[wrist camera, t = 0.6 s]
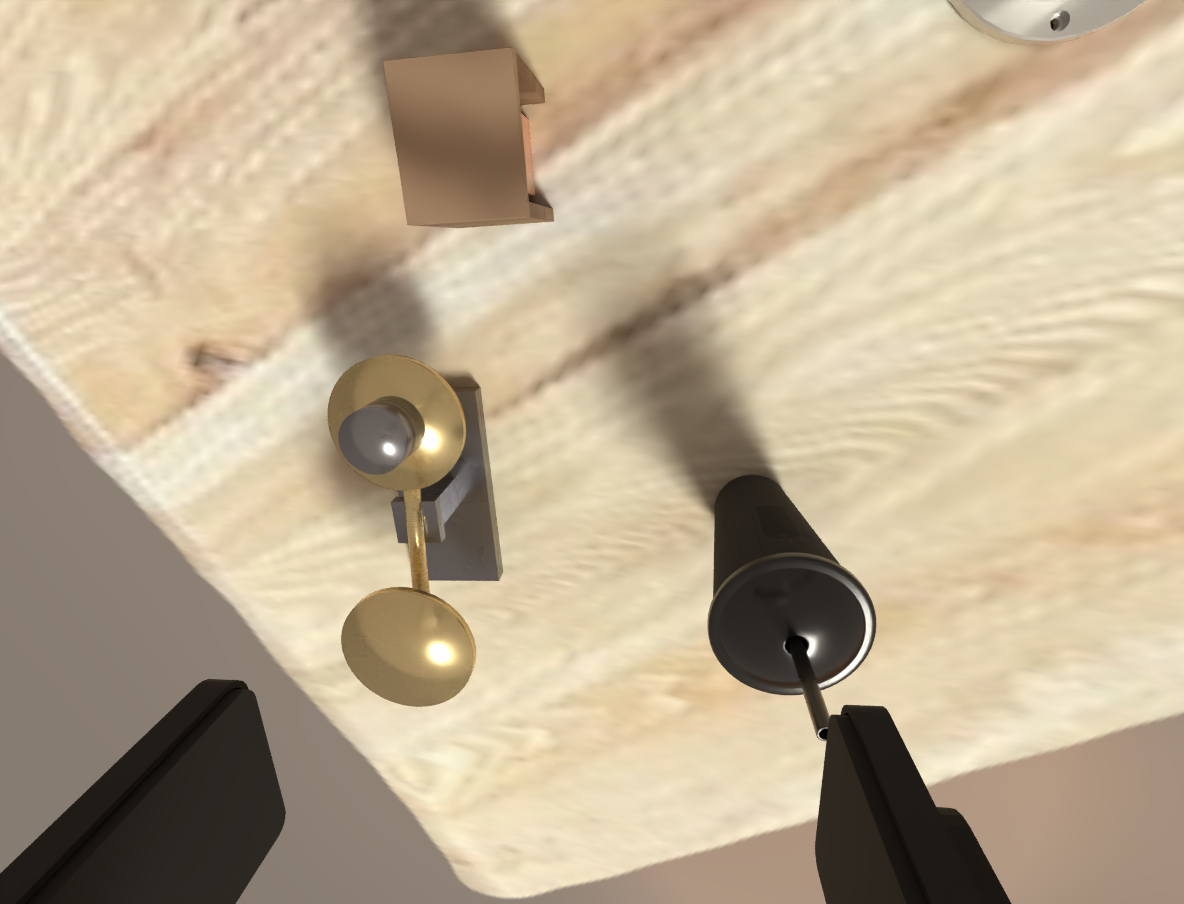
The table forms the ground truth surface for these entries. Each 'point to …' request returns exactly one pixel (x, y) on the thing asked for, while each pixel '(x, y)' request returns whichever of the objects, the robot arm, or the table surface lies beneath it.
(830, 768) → the robot arm
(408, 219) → the arch
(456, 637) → the balance
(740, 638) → the drinking cup
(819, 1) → the table surface
